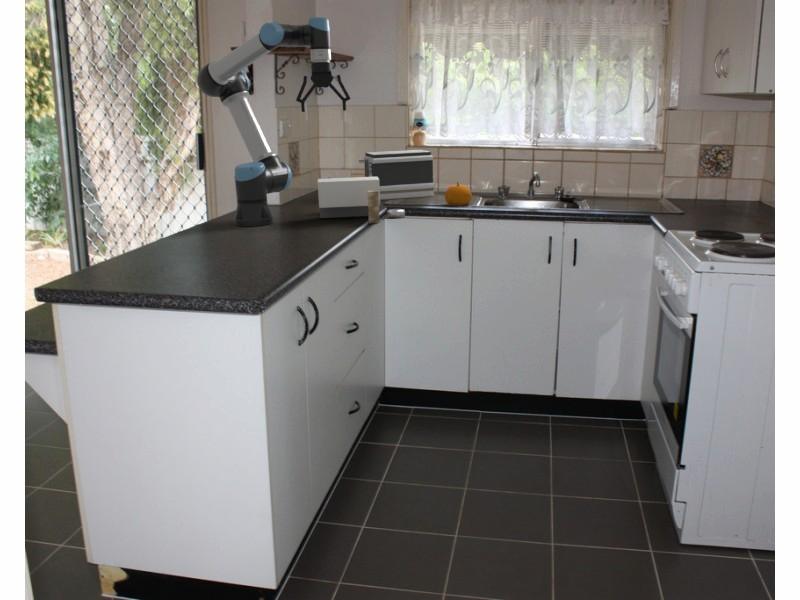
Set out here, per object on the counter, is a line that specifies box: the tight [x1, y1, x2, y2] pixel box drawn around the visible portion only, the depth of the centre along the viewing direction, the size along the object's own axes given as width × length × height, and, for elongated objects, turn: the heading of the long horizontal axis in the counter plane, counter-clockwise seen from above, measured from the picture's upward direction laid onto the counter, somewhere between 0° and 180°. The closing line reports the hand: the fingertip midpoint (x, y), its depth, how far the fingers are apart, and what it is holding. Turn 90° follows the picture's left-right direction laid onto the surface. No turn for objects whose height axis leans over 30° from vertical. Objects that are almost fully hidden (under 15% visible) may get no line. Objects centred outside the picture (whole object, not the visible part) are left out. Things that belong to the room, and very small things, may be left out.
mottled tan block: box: [367, 190, 380, 224], centre depth 295 cm, size 4×16×12 cm, turn 4°
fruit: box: [444, 181, 473, 207], centre depth 328 cm, size 12×12×10 cm
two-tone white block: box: [317, 176, 381, 219], centre depth 300 cm, size 24×12×16 cm, turn 95°
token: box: [386, 208, 406, 220], centre depth 301 cm, size 7×7×3 cm
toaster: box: [358, 149, 436, 201], centre depth 360 cm, size 18×34×21 cm, turn 106°
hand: (324, 120), depth 285 cm, fingers open, 13 cm apart
